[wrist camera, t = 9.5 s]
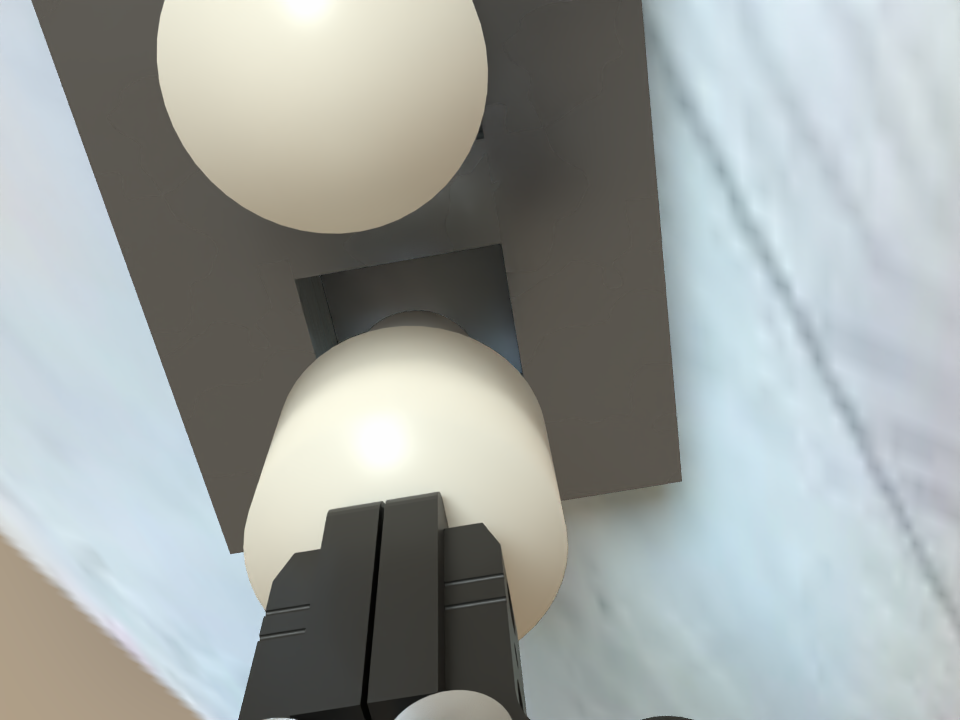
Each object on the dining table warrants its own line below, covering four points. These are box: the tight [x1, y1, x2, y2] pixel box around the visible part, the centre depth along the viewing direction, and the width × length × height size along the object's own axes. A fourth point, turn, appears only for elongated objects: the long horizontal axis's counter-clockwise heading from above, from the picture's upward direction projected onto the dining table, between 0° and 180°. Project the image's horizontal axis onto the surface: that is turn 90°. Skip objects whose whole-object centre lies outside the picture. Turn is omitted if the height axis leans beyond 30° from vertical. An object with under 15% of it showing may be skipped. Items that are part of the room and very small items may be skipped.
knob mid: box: [157, 0, 488, 234], centre depth 15 cm, size 4×4×6 cm
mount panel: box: [32, 0, 682, 554], centre depth 17 cm, size 10×20×2 cm, turn 10°
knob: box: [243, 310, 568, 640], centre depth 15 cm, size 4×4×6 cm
